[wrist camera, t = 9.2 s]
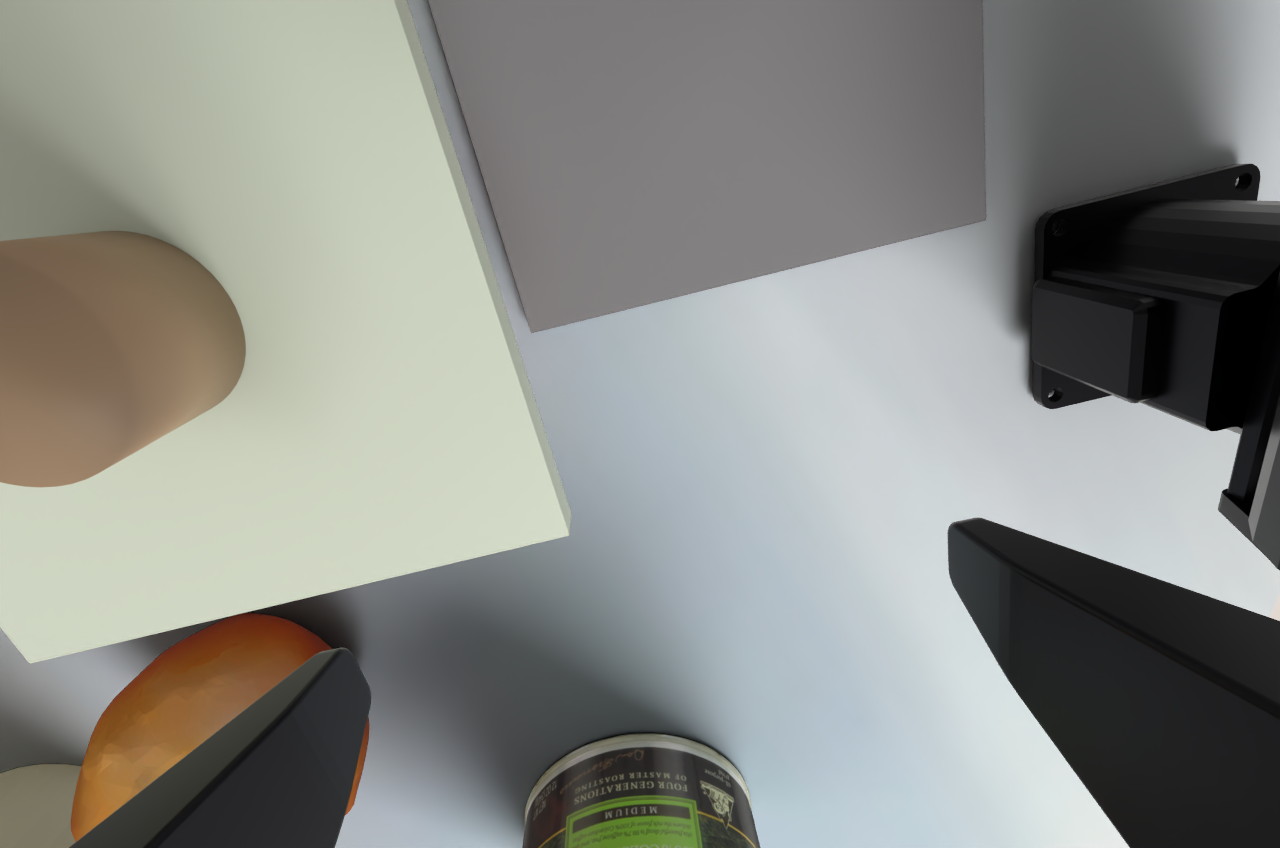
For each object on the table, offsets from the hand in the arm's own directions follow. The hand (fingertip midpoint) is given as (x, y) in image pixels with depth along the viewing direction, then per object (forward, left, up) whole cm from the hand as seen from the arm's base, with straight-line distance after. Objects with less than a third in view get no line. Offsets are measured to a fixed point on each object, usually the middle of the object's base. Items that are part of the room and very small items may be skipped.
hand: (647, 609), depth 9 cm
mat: (-5, -9, -12) cm, 16 cm away
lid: (+8, -5, -6) cm, 11 cm away
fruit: (+15, +8, -12) cm, 21 cm away
